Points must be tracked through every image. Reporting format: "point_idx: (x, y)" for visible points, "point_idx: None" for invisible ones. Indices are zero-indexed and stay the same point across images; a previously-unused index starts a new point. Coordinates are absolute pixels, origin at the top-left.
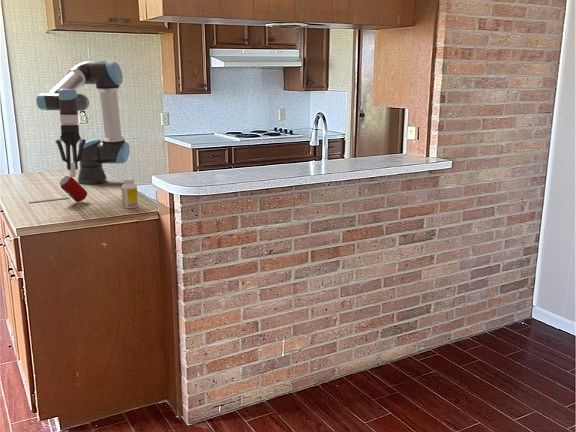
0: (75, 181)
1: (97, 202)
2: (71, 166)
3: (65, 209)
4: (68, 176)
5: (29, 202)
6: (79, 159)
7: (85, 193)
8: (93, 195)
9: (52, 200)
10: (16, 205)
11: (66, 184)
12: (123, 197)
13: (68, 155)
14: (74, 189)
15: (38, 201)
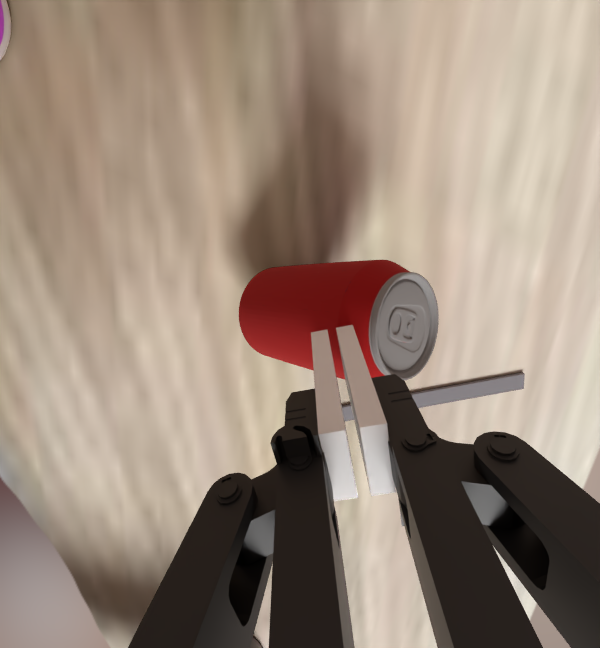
0: (316, 311)
1: (194, 265)
2: (368, 388)
3: (391, 136)
4: (378, 351)
5: (521, 379)
6: (239, 491)
7: (251, 287)
8: (212, 437)
9: (412, 393)
10: (586, 350)
11: (396, 265)
12: None
13: (473, 550)
14: (327, 264)
15: (479, 386)
